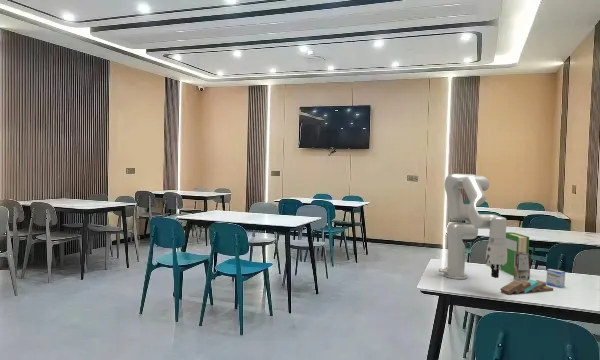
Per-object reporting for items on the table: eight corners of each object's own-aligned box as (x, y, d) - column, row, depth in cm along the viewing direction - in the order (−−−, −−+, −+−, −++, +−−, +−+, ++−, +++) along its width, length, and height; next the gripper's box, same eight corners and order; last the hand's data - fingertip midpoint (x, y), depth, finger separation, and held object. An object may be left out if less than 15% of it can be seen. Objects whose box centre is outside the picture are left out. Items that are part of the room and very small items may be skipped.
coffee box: (529, 283, 246) (531, 255, 246) (517, 282, 248) (518, 254, 247) (525, 280, 255) (526, 252, 255) (513, 279, 256) (514, 251, 256)
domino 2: (515, 290, 224) (530, 282, 227) (508, 287, 229) (522, 279, 232) (516, 294, 224) (531, 285, 227) (509, 291, 229) (523, 283, 232)
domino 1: (507, 291, 222) (522, 282, 225) (500, 288, 227) (514, 280, 230) (508, 294, 222) (523, 286, 225) (501, 292, 227) (515, 283, 230)
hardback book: (527, 276, 263) (529, 236, 262) (515, 276, 263) (517, 236, 262) (511, 270, 281) (513, 232, 280) (500, 269, 280) (502, 232, 280)
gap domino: (517, 290, 231) (530, 282, 234) (525, 293, 226) (538, 284, 229) (516, 287, 230) (529, 279, 234) (524, 289, 226) (537, 281, 229)
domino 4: (539, 289, 230) (553, 288, 233) (531, 286, 234) (544, 285, 238) (539, 293, 230) (553, 291, 233) (531, 290, 234) (544, 289, 238)
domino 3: (531, 289, 228) (545, 282, 231) (523, 286, 232) (537, 279, 236) (532, 292, 228) (546, 285, 231) (524, 290, 233) (538, 283, 236)
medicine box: (545, 284, 246) (546, 269, 245) (549, 283, 248) (550, 268, 248) (560, 288, 239) (561, 272, 239) (564, 287, 242) (565, 271, 242)
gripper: (491, 243, 216) (488, 280, 217) (514, 242, 221) (512, 278, 222) (479, 240, 223) (477, 276, 224) (502, 239, 228) (500, 274, 229)
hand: (494, 277), depth 223 cm, fingers closed
